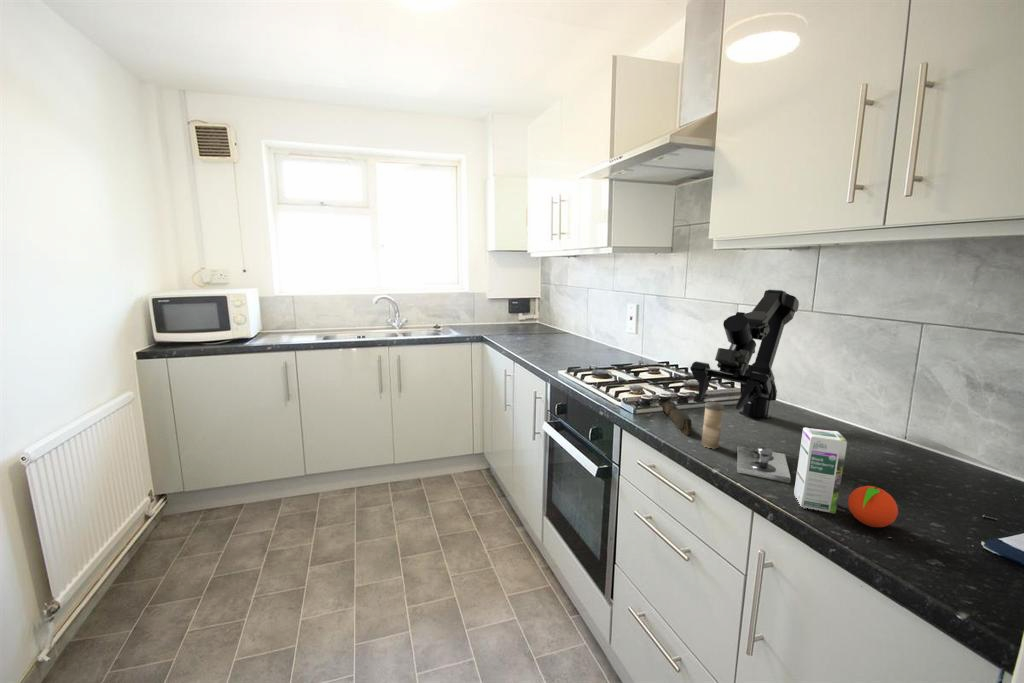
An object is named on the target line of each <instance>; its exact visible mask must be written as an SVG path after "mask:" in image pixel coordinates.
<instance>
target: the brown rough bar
mask: <svg viewBox="0 0 1024 683" xmlns="http://www.w3.org/2000/svg"><path fill="white" fill-rule="evenodd" d="M661 407H662V412H663V413H664V412H665V413H664V414H665V415H667V416H668V417H669V419H670V420H672V422H673V423H674V424H675V426H676V427H677V428H678V429H679V430H680V431H681V433H682V434H683V433H684V434H683V435H685V436H687V437H689V436H690V434H691V429H692V419H691V418H690V416H689V415H687V414H684V413H682V411H681V410H680V409H679V408H678V407H677V406H676V403H675V402H673V401H666V402H663V403H662V405H661ZM678 429H677V430H678ZM679 430H678V431H679ZM680 431H679V432H680Z"/></svg>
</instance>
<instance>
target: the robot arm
mask: <svg viewBox="0 0 1024 683" xmlns="http://www.w3.org/2000/svg"><path fill="white" fill-rule="evenodd" d="M763 293H764V294H763V297H762V298H761V299H760V301H759V302H758V303H757V304H756V305H755V307H754V308H753V309H752V311H750V312H747V313H746V312H741V311H736V313H735V314H733V315H730V316H728V317H727V318H726V319H724V320H723V324H722V325H723V330H724V332H725V336H726V338H727V342H729V343H730V346H729V348H721V347H718V348H717V351H716V354H715V357H714V358H715V359H714V360H715V362H717V365H716V366H717V368H719V370H718V369H713V368H711V366H710V363H708V362H702V361H696V360H695V361H693V363H692V364H691V366H690V367H689V368H690V372H691V373H692V376H693V379H694V380H696V381H697V383H698V400H699V401H700V402H701V401H702V400H703V398H704V397H705V395H706V392H707V391H708V389H709V387H710V381H711V380H712V378H716V379H720V380H724V381H729V382H733V383H740V397H739V399H738V401H737V403H736V406H735V409H736V410H739V413H738V414H740V415H743V416H746V417H748V418H750V419H752V420H755V421H760V420H768V419H769V420H770V419H772V418H773V416H772V415H769V409H770V402H772V401H777V395H778V394H777V393H778V389H777V386H776V385H777V384H776V382H775V375H774V372H773V369H772V367H773V364H774V361H775V358H776V354H777V351H778V348H779V344H780V342H781V338H782V335H783V331H784V328H785V326H786V325H787V324H788V323H790V322H791V321H793V319H794V316H795V314H796V313H797V312H798V310H799V307H800V306H799V305H800V302H799V300H798V298H797V297H796V296H794V295H792V294H789V293H787V292H786V291H785V290H782V289H766V290H765V291H764V292H763ZM755 340H757V341H758V340H759V341H760V345H759V348H758V351H757V355H756V357H755V361H754V362H753V363H752V364H749V363H750V362H751V360H752V356H753V354H755V353H756V347H757V343H756V341H755ZM741 408H742V410H741V411H740V409H741Z"/></svg>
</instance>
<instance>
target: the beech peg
mask: <svg viewBox="0 0 1024 683" xmlns="http://www.w3.org/2000/svg"><path fill="white" fill-rule="evenodd" d="M704 404H705V405H704V416H703V426H702V432H701V434H702V435H701V444H702V445H703V446H704V447H703V446H702V445H701V444H700V445H701V446H702V447H703V448H705V447H707V448H706V449H709V448H712V449H711V450H717V449H716V448H718V449H719V448H720V447H719V446H720V438H721V430H722V420H723V411H724V407H725V406H724V404H723V403H721V402H718V401H706V402H705V403H704Z"/></svg>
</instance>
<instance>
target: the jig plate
mask: <svg viewBox="0 0 1024 683" xmlns="http://www.w3.org/2000/svg"><path fill="white" fill-rule="evenodd" d="M736 451H737V452H736V453H737V457H736V458H737V459H736V462H737V464H736V469H737V470H736V471H737V472H736V473H739V474H743V475H748V476H753V477H758V478H762V479H768V480H772V481H777V482H780V483H781V482H782V483H787V484H791V473H790V469H789V466H788V462H787V457H786V454H785V453H780V452H775V451H774V450H773V449H771V448H770V447H765V446H758V448H755V447H754V448H753V447H748V446H742V445H737V449H736Z"/></svg>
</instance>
